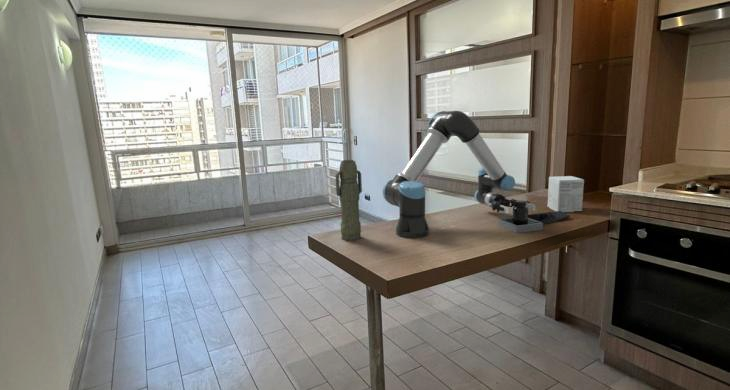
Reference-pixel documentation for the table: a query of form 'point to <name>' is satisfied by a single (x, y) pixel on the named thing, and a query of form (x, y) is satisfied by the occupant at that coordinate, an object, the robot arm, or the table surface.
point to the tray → (531, 225)
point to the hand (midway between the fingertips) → (521, 209)
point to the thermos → (349, 199)
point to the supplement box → (565, 193)
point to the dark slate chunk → (549, 217)
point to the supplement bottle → (520, 213)
